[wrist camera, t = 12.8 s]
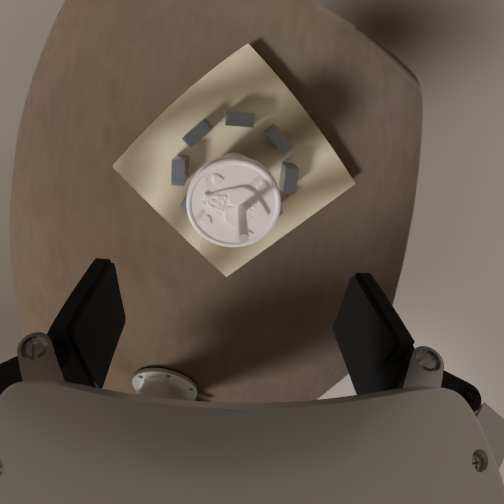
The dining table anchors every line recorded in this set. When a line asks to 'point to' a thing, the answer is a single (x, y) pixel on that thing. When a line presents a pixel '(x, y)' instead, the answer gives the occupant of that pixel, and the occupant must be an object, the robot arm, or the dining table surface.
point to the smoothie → (233, 201)
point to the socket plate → (235, 140)
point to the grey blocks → (243, 120)
